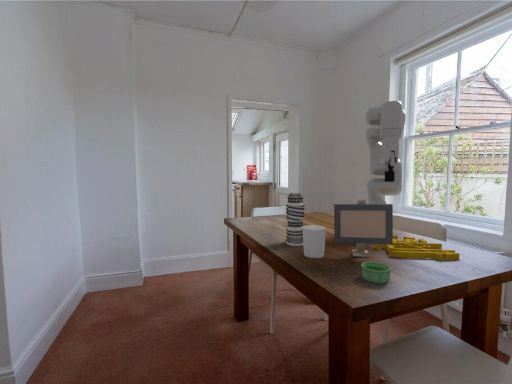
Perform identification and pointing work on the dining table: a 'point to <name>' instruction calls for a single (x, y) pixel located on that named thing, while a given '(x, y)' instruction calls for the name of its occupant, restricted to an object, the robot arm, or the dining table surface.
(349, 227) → the picture frame
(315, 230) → the candle holder
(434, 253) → the decorative art
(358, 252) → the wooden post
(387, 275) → the ramekin
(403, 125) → the robot arm
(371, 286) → the dining table surface
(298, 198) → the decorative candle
